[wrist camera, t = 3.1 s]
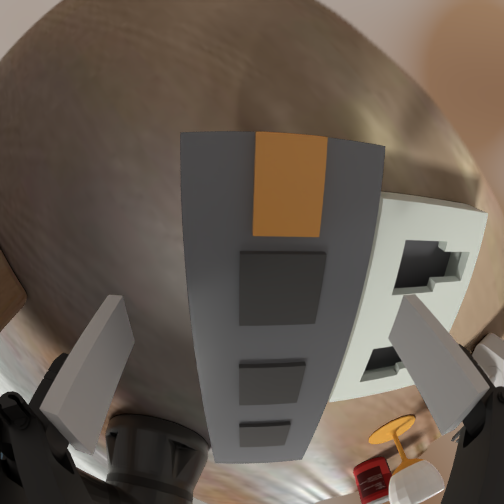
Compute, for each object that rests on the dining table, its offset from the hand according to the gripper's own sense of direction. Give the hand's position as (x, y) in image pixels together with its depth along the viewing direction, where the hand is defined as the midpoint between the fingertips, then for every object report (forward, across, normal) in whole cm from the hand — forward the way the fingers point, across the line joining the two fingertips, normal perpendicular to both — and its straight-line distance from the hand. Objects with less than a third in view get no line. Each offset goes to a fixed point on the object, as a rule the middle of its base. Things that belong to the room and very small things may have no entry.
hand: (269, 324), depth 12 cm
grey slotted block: (+8, 0, 0) cm, 8 cm away
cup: (+9, +25, -33) cm, 42 cm away
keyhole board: (+9, +14, -5) cm, 17 cm away
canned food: (+9, +27, -50) cm, 58 cm away
